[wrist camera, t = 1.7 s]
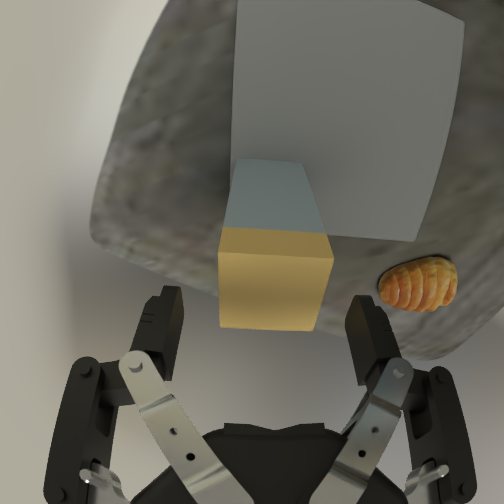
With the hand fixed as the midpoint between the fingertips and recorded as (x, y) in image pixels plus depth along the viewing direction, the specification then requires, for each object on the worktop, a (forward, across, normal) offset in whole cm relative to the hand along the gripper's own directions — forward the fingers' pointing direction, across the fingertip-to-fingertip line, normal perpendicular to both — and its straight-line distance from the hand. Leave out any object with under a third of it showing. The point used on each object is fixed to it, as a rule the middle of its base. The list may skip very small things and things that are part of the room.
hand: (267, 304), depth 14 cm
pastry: (+13, -19, +9) cm, 25 cm away
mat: (+13, -6, -7) cm, 16 cm away
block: (+13, 0, 0) cm, 13 cm away
